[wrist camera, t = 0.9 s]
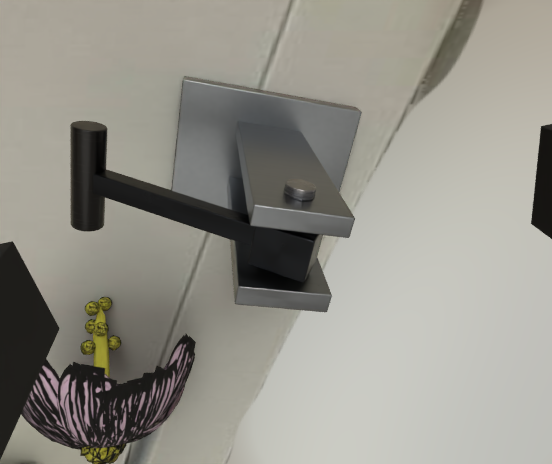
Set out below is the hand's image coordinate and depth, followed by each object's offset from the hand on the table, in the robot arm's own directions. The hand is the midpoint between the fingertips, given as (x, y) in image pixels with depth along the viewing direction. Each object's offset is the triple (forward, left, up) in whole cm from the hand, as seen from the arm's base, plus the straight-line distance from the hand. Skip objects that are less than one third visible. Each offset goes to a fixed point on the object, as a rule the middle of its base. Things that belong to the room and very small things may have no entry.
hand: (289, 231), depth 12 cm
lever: (+5, -2, -12) cm, 13 cm away
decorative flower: (+23, -7, -22) cm, 32 cm away
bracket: (+5, +2, -22) cm, 22 cm away
